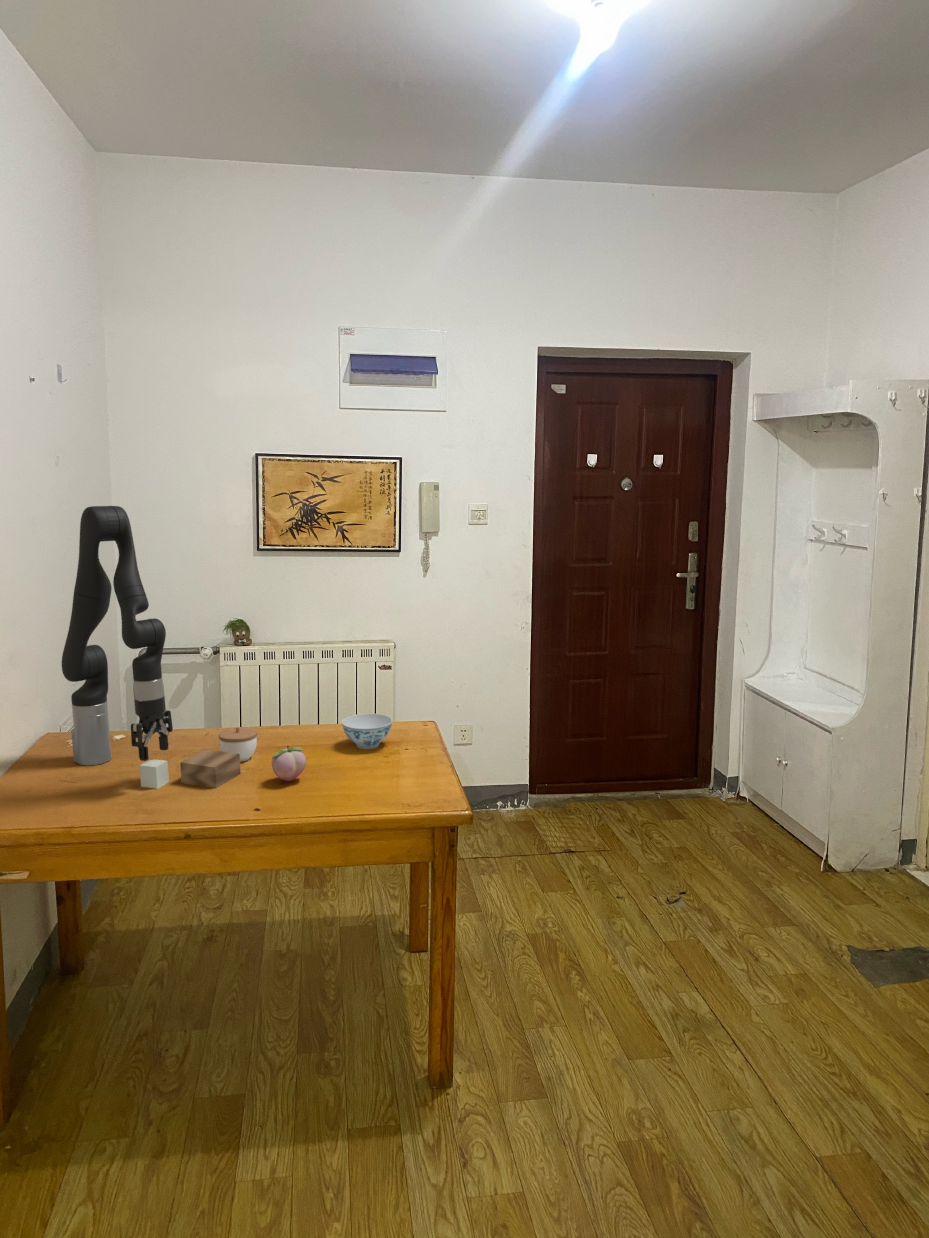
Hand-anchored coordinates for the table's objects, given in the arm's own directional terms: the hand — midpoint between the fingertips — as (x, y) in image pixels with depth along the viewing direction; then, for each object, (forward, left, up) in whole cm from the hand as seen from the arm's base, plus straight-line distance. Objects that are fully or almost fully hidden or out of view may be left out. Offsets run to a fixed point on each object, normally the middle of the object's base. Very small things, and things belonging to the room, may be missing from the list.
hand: (154, 755), depth 235 cm
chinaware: (+42, +45, -8) cm, 62 cm away
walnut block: (+12, +8, -8) cm, 16 cm away
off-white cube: (0, 0, -8) cm, 8 cm away
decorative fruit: (+33, +12, -8) cm, 36 cm away
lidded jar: (+11, +24, -8) cm, 28 cm away
